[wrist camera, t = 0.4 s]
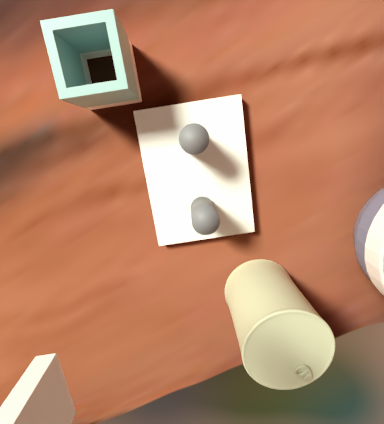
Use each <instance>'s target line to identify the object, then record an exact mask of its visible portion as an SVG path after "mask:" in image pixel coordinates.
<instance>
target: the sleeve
mask: <svg viewBox="0 0 384 424" xmlns="http://www.w3.org/2000/svg"><path fill="white" fill-rule="evenodd" d="M40 23H41V27H42V31H43V35H44V39H45V43H46V47H47V51H48V55H49V59H50V63H51V67H52V71H53V75H54V79H55V83H56V87H57V91H58V95H59V99H60V100H63V101H66V102H69V103H72V104H74V105H77V106H80V107H83V108H86V109H89V110H95V109H101V108H108V107H114V106H121V105H127V104H133V103H140V102H142V97H141V92H140V86H139V81H138V75H137V70H136V64H135V59H134V54H133V48H132V43H131V42H130V40H129V38H128V36H127V34H126V32H125V30H124V29H123V27H122V25H121V23H120V21H119V19H118V17H117V16H116V14H115V12H114V10H113V9H109V10H103V11H97V12H91V13H85V14H79V15H72V16H66V17H60V18H54V19H48V20H42V21H40ZM111 55H112V57H113V62H114V67H115V72H116V77H117V80H113V81H107V82H101V83H94V84H92V82H91V77H90V73H89V68H88V64H87V59H92V58H99V57H105V56H111Z"/></svg>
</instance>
